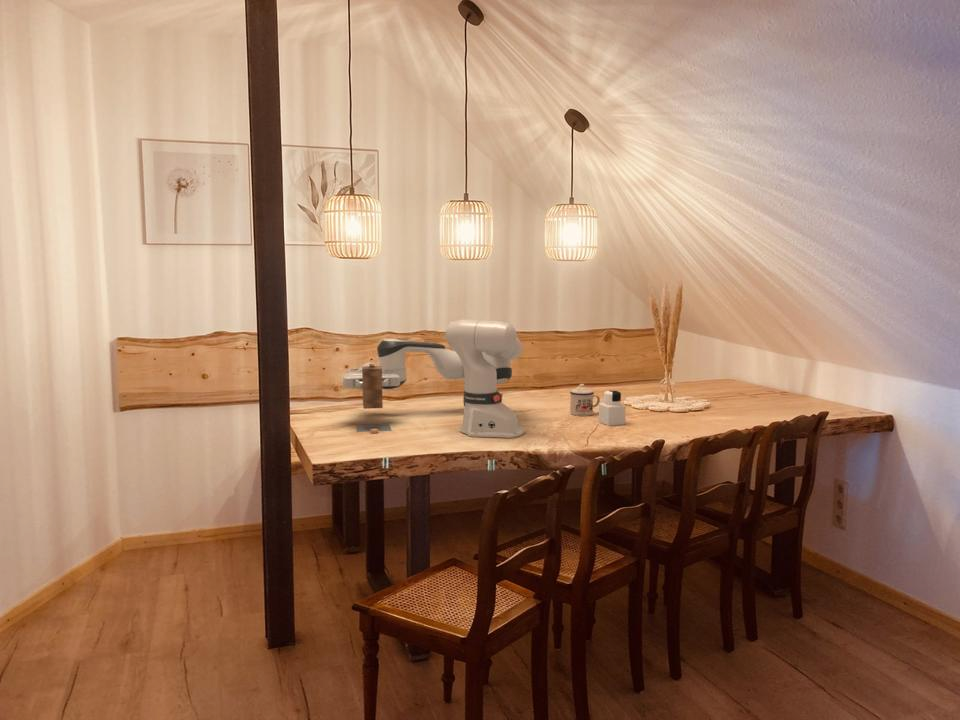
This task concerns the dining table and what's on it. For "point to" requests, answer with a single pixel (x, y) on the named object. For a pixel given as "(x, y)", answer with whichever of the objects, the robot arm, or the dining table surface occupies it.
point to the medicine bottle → (612, 409)
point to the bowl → (374, 431)
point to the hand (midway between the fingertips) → (372, 384)
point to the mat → (373, 427)
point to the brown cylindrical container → (372, 386)
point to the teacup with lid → (582, 401)
